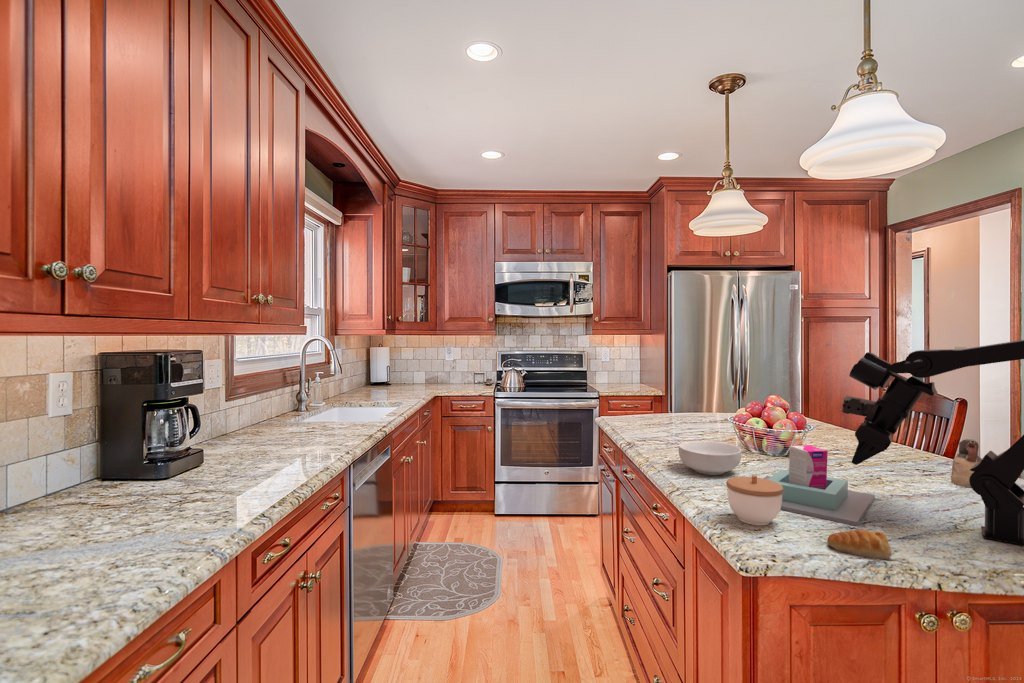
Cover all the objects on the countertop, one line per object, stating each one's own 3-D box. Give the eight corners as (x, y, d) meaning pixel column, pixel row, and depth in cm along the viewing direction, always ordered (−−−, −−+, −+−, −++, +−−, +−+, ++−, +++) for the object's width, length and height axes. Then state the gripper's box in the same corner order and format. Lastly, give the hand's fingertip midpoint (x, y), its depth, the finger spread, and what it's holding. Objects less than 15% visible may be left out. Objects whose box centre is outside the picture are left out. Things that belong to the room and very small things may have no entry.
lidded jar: (742, 530, 102) (743, 483, 102) (717, 511, 113) (717, 469, 113) (794, 529, 103) (794, 482, 103) (764, 510, 114) (764, 468, 114)
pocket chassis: (874, 498, 123) (875, 480, 123) (857, 526, 105) (857, 505, 105) (766, 478, 139) (767, 462, 139) (735, 500, 121) (736, 481, 121)
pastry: (833, 555, 92) (834, 534, 92) (822, 541, 98) (822, 521, 98) (895, 562, 89) (895, 540, 89) (879, 546, 96) (879, 526, 96)
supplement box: (805, 500, 118) (805, 450, 118) (787, 492, 124) (788, 445, 124) (827, 499, 119) (828, 450, 119) (809, 491, 125) (809, 444, 125)
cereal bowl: (671, 463, 155) (671, 440, 155) (727, 464, 155) (727, 440, 154) (688, 479, 138) (688, 453, 138) (751, 480, 138) (751, 454, 138)
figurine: (985, 484, 135) (986, 438, 134) (989, 490, 129) (990, 443, 129) (949, 479, 139) (950, 435, 139) (952, 485, 133) (953, 439, 133)
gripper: (864, 376, 123) (829, 429, 129) (851, 388, 109) (812, 447, 115) (916, 401, 117) (876, 456, 123) (909, 418, 103) (865, 478, 109)
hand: (857, 458), depth 118 cm, fingers open, 9 cm apart
